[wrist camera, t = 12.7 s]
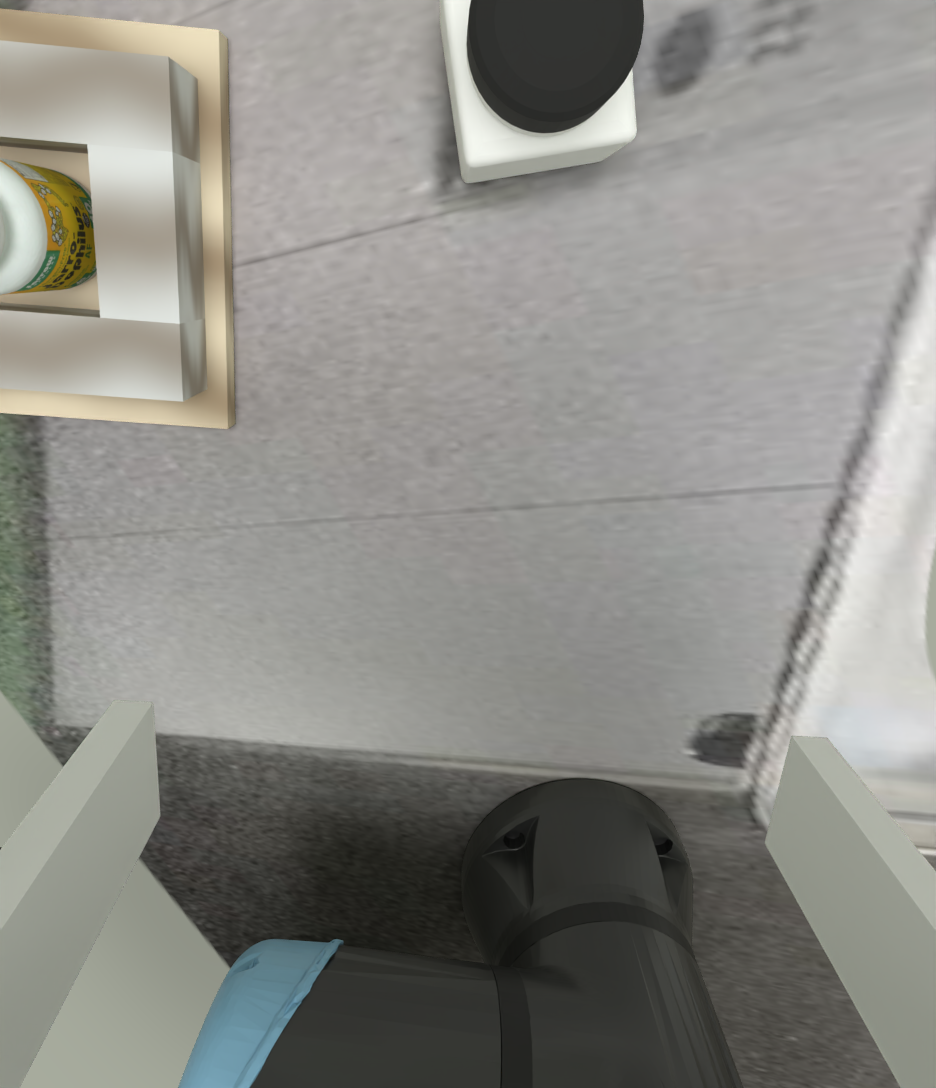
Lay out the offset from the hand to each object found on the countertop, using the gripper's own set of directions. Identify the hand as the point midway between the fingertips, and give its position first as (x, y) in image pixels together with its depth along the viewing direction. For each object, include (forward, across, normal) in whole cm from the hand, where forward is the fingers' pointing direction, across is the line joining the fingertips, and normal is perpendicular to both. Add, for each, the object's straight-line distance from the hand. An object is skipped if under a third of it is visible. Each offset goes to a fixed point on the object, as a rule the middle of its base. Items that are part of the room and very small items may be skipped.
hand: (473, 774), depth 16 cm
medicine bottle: (+29, -2, -18) cm, 34 cm away
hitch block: (+29, +20, -10) cm, 36 cm away
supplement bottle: (+27, +20, -10) cm, 35 cm away
